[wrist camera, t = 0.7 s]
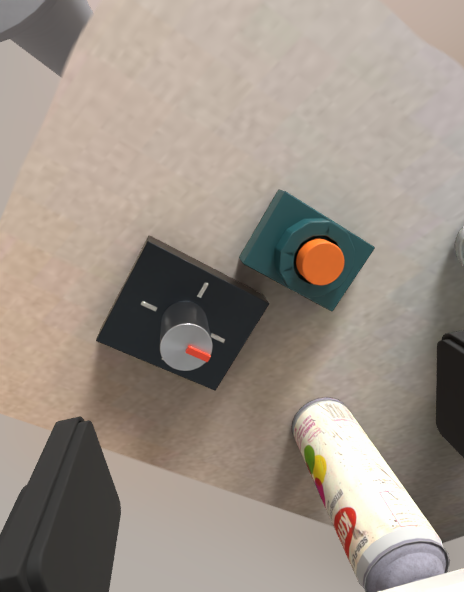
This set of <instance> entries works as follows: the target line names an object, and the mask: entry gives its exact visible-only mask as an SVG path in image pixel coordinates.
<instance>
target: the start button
mask: <svg viewBox="0 0 464 592" xmlns="http://www.w3.org/2000/svg"><path fill="white" fill-rule="evenodd" d="M296 266H297V269H298V271H299V273H300V274H301V275H302V276H303V277H304V278H305V279H307V280H308V281H309V282H310V283H312V284H315V285H327V284H329V283H331V282H333V281H335V280H336V279H337V278H338V277H339V276H340V274H341V272H342V270H343V267H344V255H343V253H342V251H341V249H340V248H339V247H338V246H336V245H335V244H333V243H331V242H329V241H327V240H324V239H312V240H310V241H308V242H306V243H305V244H304V245H303V246H302V247H301V248H300V250H299V251H298V254H297V257H296Z"/></svg>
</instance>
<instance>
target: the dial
mask: <svg viewBox="0 0 464 592" xmlns="http://www.w3.org/2000/svg"><path fill="white" fill-rule="evenodd" d="M160 353H161V356H162V358H163V360H164V361H165V362H166V363H167V364H168V365H169V366H171V367H172V368H174V369H177V370H183V371H188V370H193V369H196V368H198V367H200V366H202V365H203V364H204V363H205V362H208V361H209V359H210V357H211V353H212V339H211V335H210V331H209V326H208V322H207V318H206V314H205V312H204V311H203V309H202V308H201V307H200V306H198V305H197V304H195V303H192V302H188V301H182V302H177V303H174V304H172V305H171V306H169V307H168V308H167V309H166V311H165V312H164V314H163V316H162V320H161V336H160Z"/></svg>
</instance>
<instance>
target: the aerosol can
mask: <svg viewBox="0 0 464 592" xmlns="http://www.w3.org/2000/svg"><path fill="white" fill-rule="evenodd" d="M292 433H293V435H294V438H295V440H296V443H297V445H298V447H299V449H300V452H301V454H302V456H303V458H304V461H305V463H306V465H307V467H308V470H309V472H310V474H311V476H312V479H313V481H314V483H315V485H316V488H317V490H318V492H319V494H320V497H321V499H322V501H323V503H324V506H325V508H326V510H327V512H328V515H329V517H330V519H331V521H332V524H333V526H334V528H335V530H336V533H337V535H338V537H339V539H340V542H341V544H342V546H343V548H344V550H345V553H346V555H347V557H348V559H349V562H350V564H351V566H352V568H353V571H354V573H355V575H356V577H357V580H358V582H359V584H360V585H361V586H362V587H363V588H364V589H365V592H379V591H383V590H386V589H390V588H393V587H397V586H401V585H404V584H408V583H412V582H415V581H419V580H422V579H426V578H430V577H433V576H437V575H441V574H444V573H447V572H448V568H449V564H450V560H449V555H448V553H447V551H446V550H445V549H444V548H443V545H442V541H441V539H440V538H439V536H438V535H437V533H436V532H435V531H434V529H433V528H432V526H431V525H430V524H429V522H428V521H427V519H426V518H425V516H424V515H423V514H422V512H421V511H420V509H419V508H418V507H417V505H416V504H415V502H414V501H413V500H412V498H411V497H410V495H409V494H408V493H407V491H406V490H405V488H404V487H403V486H402V484H401V483H400V481H399V480H398V479H397V477H396V476H395V474H394V473H393V471H392V470H391V469H390V467H389V466H388V464H387V463H386V462H385V460H384V459H383V457H382V456H381V455H380V453H379V452H378V450H377V449H376V448H375V446H374V445H373V443H372V442H371V441H370V439H369V438H368V436H367V435H366V434H365V432H364V431H363V429H362V428H361V427H360V425H359V424H358V422H357V421H356V419H355V418H354V417H353V415H352V414H351V413H350V411H349V410H348V408H347V407H346V406H345V405H344V403H342V402H341V401H339V400H337V399H333V398H328V397H326V398H318V399H315V400H313V401H310V402H308V403H307V404H306V405H304V406H303V407H302V408H301V409H300V410H299V411H298V412H297V414H296V415H295V417H294V420H293V422H292Z"/></svg>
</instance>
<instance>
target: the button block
mask: <svg viewBox="0 0 464 592" xmlns="http://www.w3.org/2000/svg"><path fill="white" fill-rule="evenodd" d="M312 239H324V240H327V241H329V242H331V243H333V244H335V245H336V246H338V247H339V248H340V249H341V251H342V253H343V255H344V267H343V270H342V272H341V274H340V276H339V277H338V278H337V279H336V280H335V281H333V282H331V283H329V284H327V285H315V284H312V283H310V282H309V281H308V280H307V279H305V278H304V277H303V276H302V275H301V274H300V273H299V271H298V269H297V266H296V257H297V254H298V251H299V250H300V248H301V247H302V246H303V245H304V244H305V243H306V242H308V241H310V240H312ZM374 249H375V247H374V246H372V245H370V244H369V243H367V242H366V241H364V240H362V239H361V238H359V237H358V236H356V235H354V234H353V233H351V232H350V231H348V230H346V229H345V228H343V227H342V226H340V225H338V224H337V223H335V222H334V221H332V220H330V219H329V218H327V217H326V216H324V215H322V214H321V213H319V212H318V211H316V210H315V209H313V208H311V207H310V206H308V205H307V204H305V203H303V202H302V201H300V200H299V199H297V198H295V197H294V196H292V195H291V194H289V193H287V192H286V191H282V190H278V191H277V193H276V195H275V197H274V198H273V200H272V202H271V203H270V205H269V207H268V209H267V210H266V212H265V214H264V215H263V217H262V219H261V221H260V222H259V224H258V226H257V227H256V229H255V231H254V233H253V234H252V236H251V238H250V239H249V241H248V243H247V245H246V246H245V248H244V250H243V251H242V253H241V255H240V257H239V258H240V260H241V261H242V263H243V264H245V265H247V266H248V267H250V268H252V269H254V270H256V271H258V272H260V273H261V274H263V275H265V276H267V277H269V278H271V279H272V280H274V281H276V282H278V283H280V284H282V285H284V286H285V287H287V288H289V289H291V290H293V291H295V292H297V293H298V294H300V295H302V296H304V297H306V298H308V299H310V300H311V301H313V302H315V303H317V304H319V305H321V306H323V307H324V308H326V309H328V310H330V311H333V310H334V308H335V307H336V305H337V304H338V302H339V301H340V299H341V298H342V296H343V295H344V293H345V292H346V290H347V289H348V287H349V286H350V284H351V283H352V281H353V280H354V278H355V277H356V275H357V274H358V272H359V271H360V269H361V268H362V266H363V265H364V263H365V262H366V260H367V259H368V258H369V256H370V255H371V253H372V252H373V250H374Z"/></svg>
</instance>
